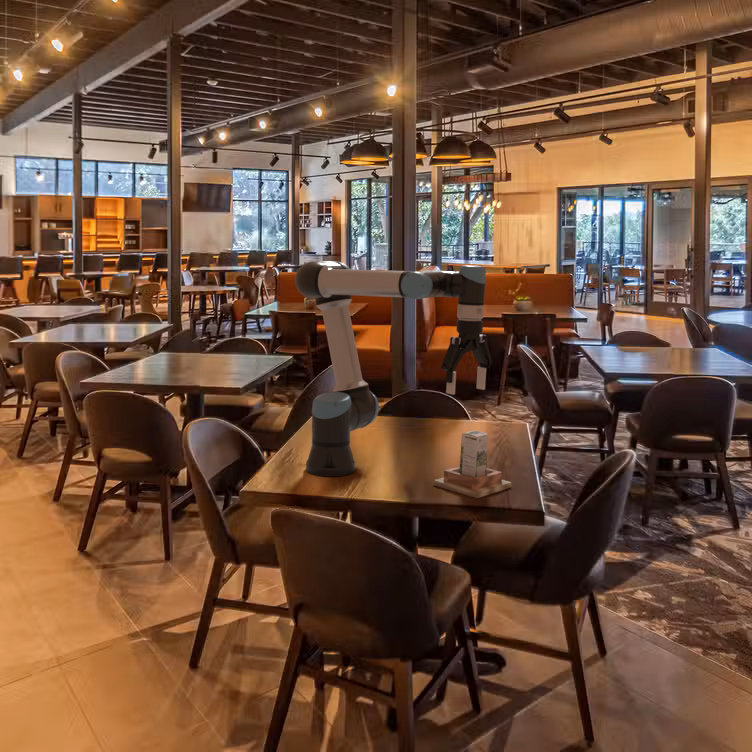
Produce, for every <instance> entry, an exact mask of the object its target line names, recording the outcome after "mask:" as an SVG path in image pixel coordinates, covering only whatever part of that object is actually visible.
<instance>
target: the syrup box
mask: <svg viewBox="0 0 752 752" xmlns="http://www.w3.org/2000/svg"><path fill="white" fill-rule="evenodd" d="M460 440H461V445H460V456H459V458H460V459H459V466H460V473H461V474H465V475H468V476H472V477H475V478H476V477H479V476H483V475H486V468H487V465H488V464H487V463H488V451H489V434H488V433H486V432H483V431H479V430H470V431H467V432H466V431H465V432H463V433H461V439H460Z"/></svg>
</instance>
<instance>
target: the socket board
mask: <svg viewBox="0 0 752 752" xmlns="http://www.w3.org/2000/svg"><path fill="white" fill-rule="evenodd" d="M433 486H434V487H435V486H436V487H439V488H442V489H445V490H449V491H452V492H455V493H457V494H461V495H465V496H468V497H471V498H475V499H479V498H482V497H485V496H488V495H492V494H495V493H498V492H501V491H504V490H507V489H510V488H512V481H508V480H505V479H503V472H502V471H500V470H496V469H493V468H488V467H486V475H483V476H479V477H476V478H475V477H472V476H468V475H465V474H461V473H460V465H459V466H455V467H453V468H452V467H451V468H448V469H445V470H443V477H440V478H436V479H434V480H433Z"/></svg>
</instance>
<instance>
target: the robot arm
mask: <svg viewBox="0 0 752 752" xmlns="http://www.w3.org/2000/svg"><path fill="white" fill-rule="evenodd" d="M486 280H487V279H486V268H485V267H484V266H483V265H470V264H469V265H467V264H466V265H461V266H460V267H459V270H458V271H447V270H437V269H430V270H429V269H428V270H427V269H425V270H423V271H420V270H416V271H415V270H412V271H411V270H407V271H406V270H381V269H378V270H375V269H351V268H350V267H349V266H348V265H347V264H345V263H343V262H341V261H336V260H324V261H323V260H322V261H317V260H316V261H309V262H305V263H303V264H302V265H301V266H300V267H299V268H298V270H297V272H296V274H295V278H294V283H295V287H296V289H297V291H298V293H300V295H302V296H303V297H304V298H306V299H308V300H309V299H310V300H314V302H315V306H316V308H317V309H319V310H320V311H321V312H322V318H323V324H324V328H325V333H326V338H327V343H328V349H329V354H330V360H331V364H332V370H333V374H334V380H335V381H334V382H335V386H334V388H333V389H332V391H330V392H325V393H321V394H319V395H317V396H316V397H314V399H313V401H312V406H311V407H312V408H311V415H312V416H311V419H312V421H311V425H312V426H311V427H312V428H311V447H310V448H311V449H310V451H309V454H308V457H307V460H306V462H305V471H306V472H307V473H309V474H311V475H314V476H320V477H342V476H348V475H351V474H353V473H354V472H355V471H356V463H355V460H354V456H353V453H352V448H351V432H353V431H356V430H358V429H363V428H366V427H367V426H369V425H371V424H372V423H374V421H375V420H376V418H377V417H378V415H379V414H378V413H379V410H380V404H379V401H378V398H377V396H376V394H374V393H373V392H372V391H371V390H370V387H369V383H368V382H366V381H365V380H364V379H363V375H362V371H361V364H360V360H359V355H358V349H357V343H356V340H355V333H354V329H353V323H352V319H351V318H352V317H351V314H350V304H351V303H352V301H353V298H352V296H361V297H362V296H364V297H385V298H389V297H390V298H406V299H412V300H422V299H428V298H438V297H439V298H440V297H442V298H445V297H446V298H454V299H455V298H457V300H458V301H457V310H456V311H457V314H456V317H457V318H458V319H457V320H456V333H458V336H451V337H450V338H449V345H448V347H447V350H446V353H445V356H444V358H443V360H442V364H441V367H440V369H442V370H443V371H444V372H445V371H446V374H445V375H446V376H445V382H446V386H445V387H446V390H445V394H448V395H453V396H454V395H456V380H457V371H455V370H456V368H457V367H458V365H459V363H460V361H461V360H462V358H463V356H464V355H465V354H467V353H469V352H472V354H473V355H474V357H475V360H476V361H477V363H478V366H477V371H476V374H477V376H476V385H475V386H476V387H475V388H476V389H477V390H482V391H484V390H486V378H487V373H488V369H490V368H491V365H493V359H492V356H491V351H490V348H489V345H488V336H487V335H488V334H487V335H486V334H482V333H483V330H484V329H483V328H484V327H483V326H484V321H483V320H482V319H484V311H485V309H484V308H485V307H484V306H485V295H486V294H485V292H486V284H487V281H486Z"/></svg>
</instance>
